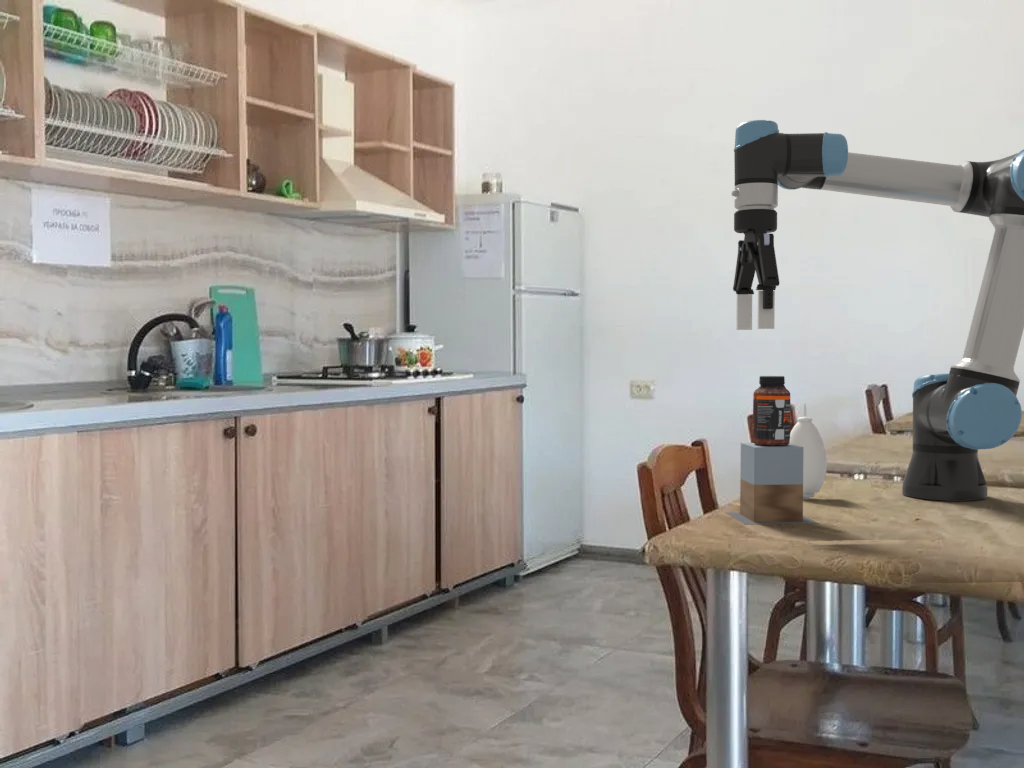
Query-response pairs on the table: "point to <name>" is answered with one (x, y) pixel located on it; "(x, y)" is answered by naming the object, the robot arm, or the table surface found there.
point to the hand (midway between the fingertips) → (754, 329)
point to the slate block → (771, 464)
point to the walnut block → (771, 502)
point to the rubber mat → (749, 522)
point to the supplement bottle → (771, 412)
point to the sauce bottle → (810, 455)
